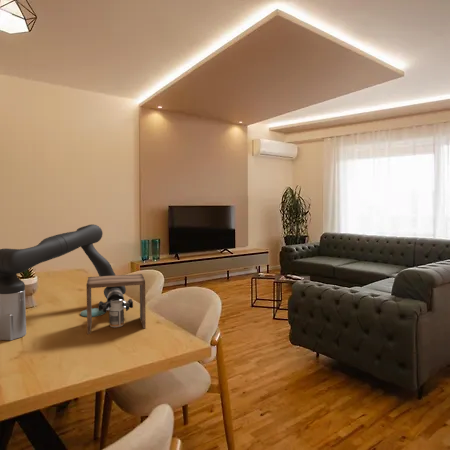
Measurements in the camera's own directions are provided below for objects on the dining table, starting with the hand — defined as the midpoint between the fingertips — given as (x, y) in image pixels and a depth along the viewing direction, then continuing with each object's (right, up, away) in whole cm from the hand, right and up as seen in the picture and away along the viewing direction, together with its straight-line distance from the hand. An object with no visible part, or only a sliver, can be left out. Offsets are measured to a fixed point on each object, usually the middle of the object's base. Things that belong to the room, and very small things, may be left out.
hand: (116, 309), depth 148 cm
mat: (-15, -5, +14) cm, 21 cm away
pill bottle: (+1, -6, -2) cm, 7 cm away
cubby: (+1, -6, -2) cm, 6 cm away
